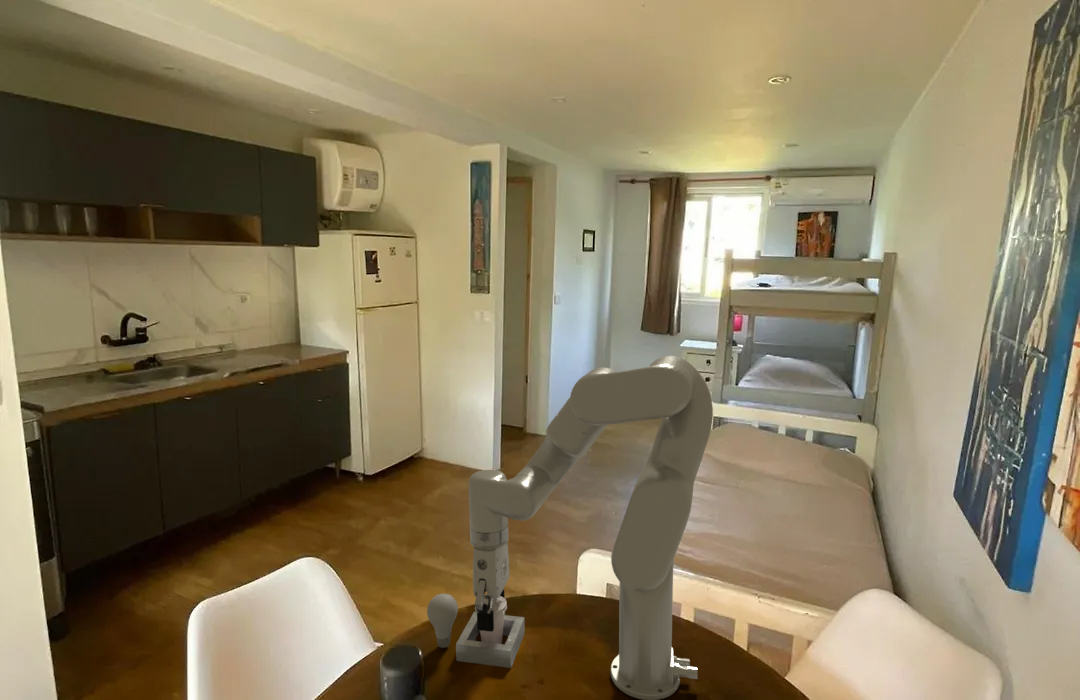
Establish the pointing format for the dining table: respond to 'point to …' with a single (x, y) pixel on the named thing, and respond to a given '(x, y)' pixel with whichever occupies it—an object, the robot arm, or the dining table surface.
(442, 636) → the lightbulb
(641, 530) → the robot arm
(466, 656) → the socket block
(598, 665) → the dining table surface
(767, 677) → the dining table surface
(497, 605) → the smoothie
